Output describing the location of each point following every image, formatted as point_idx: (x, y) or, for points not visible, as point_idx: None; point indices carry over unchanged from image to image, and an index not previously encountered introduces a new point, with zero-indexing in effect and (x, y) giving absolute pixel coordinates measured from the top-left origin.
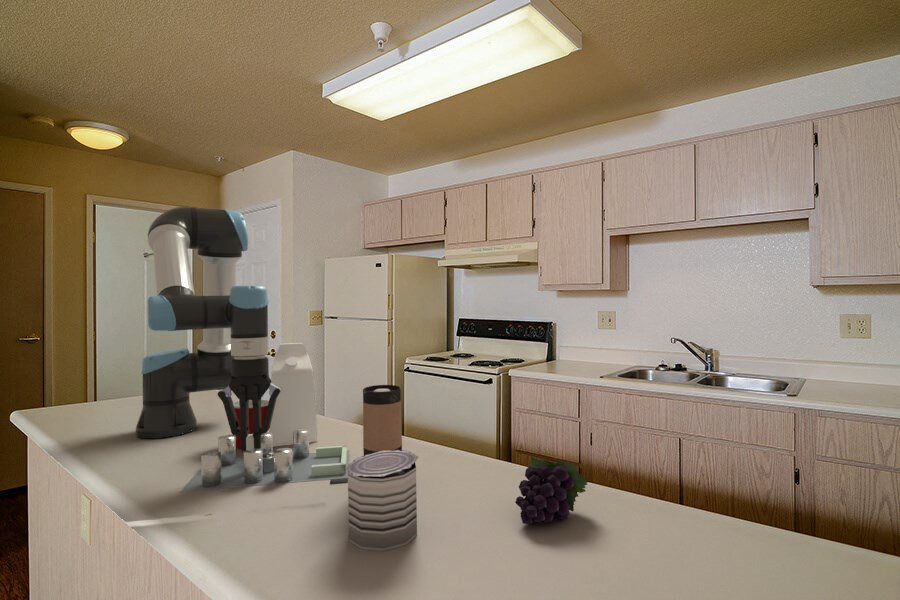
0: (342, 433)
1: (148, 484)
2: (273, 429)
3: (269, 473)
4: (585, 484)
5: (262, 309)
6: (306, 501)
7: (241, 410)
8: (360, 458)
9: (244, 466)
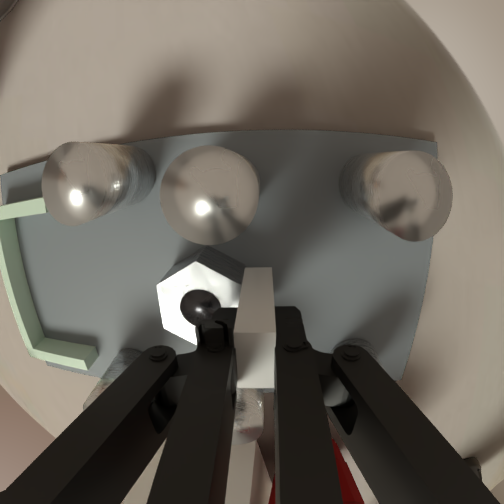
0: None
1: (499, 256)
2: (240, 482)
3: (188, 243)
4: None
5: None
6: (70, 57)
7: (326, 486)
8: None
9: (252, 166)
